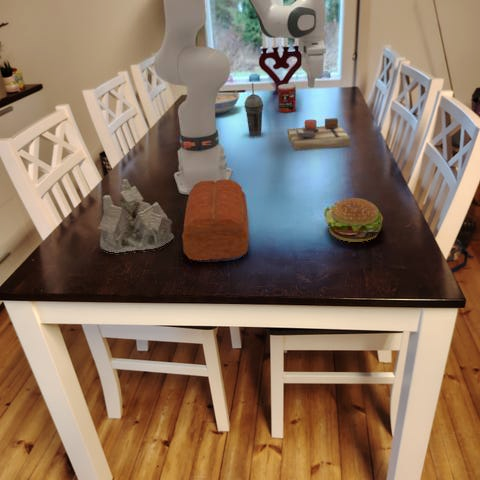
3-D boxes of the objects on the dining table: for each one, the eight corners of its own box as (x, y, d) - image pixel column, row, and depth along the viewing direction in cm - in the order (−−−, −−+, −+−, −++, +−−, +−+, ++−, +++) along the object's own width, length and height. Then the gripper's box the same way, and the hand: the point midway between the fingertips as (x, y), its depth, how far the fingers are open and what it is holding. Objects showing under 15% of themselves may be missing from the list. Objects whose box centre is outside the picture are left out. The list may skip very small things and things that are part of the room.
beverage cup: (265, 131, 186) (263, 80, 176) (264, 137, 180) (261, 84, 170) (246, 132, 187) (243, 80, 177) (245, 138, 181) (242, 85, 170)
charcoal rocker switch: (314, 137, 165) (315, 133, 165) (298, 136, 165) (298, 132, 164) (312, 133, 169) (313, 130, 168) (296, 132, 168) (296, 129, 168)
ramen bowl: (182, 119, 209) (180, 100, 205) (198, 105, 228) (196, 88, 224) (236, 119, 203) (235, 100, 199) (248, 105, 222) (247, 88, 218)
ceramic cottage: (91, 243, 117) (81, 189, 109) (146, 221, 127) (140, 170, 119) (126, 269, 107) (118, 211, 99) (182, 242, 117) (178, 188, 109)
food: (328, 215, 122) (329, 187, 117) (384, 222, 117) (387, 193, 113) (316, 242, 111) (317, 212, 107) (377, 250, 106) (380, 219, 102)
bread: (247, 208, 129) (244, 172, 123) (250, 261, 106) (248, 220, 100) (191, 212, 129) (186, 176, 123) (182, 265, 106) (176, 224, 100)
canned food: (276, 113, 208) (276, 87, 202) (280, 108, 214) (280, 83, 209) (293, 113, 206) (293, 87, 200) (297, 108, 212) (297, 83, 207)
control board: (349, 146, 165) (350, 136, 163) (293, 150, 165) (293, 141, 163) (339, 132, 179) (339, 123, 177) (287, 136, 179) (287, 127, 177)
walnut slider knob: (337, 127, 173) (337, 119, 172) (325, 128, 173) (326, 120, 172) (336, 125, 175) (336, 118, 173) (324, 126, 175) (325, 119, 173)
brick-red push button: (317, 128, 171) (317, 122, 170) (305, 129, 171) (305, 123, 170) (315, 125, 175) (315, 119, 173) (303, 126, 175) (303, 120, 173)
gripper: (297, 41, 167) (297, 81, 174) (307, 50, 149) (307, 94, 156) (314, 40, 167) (314, 80, 174) (327, 48, 150) (325, 92, 157)
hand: (310, 86), depth 165 cm, fingers closed
